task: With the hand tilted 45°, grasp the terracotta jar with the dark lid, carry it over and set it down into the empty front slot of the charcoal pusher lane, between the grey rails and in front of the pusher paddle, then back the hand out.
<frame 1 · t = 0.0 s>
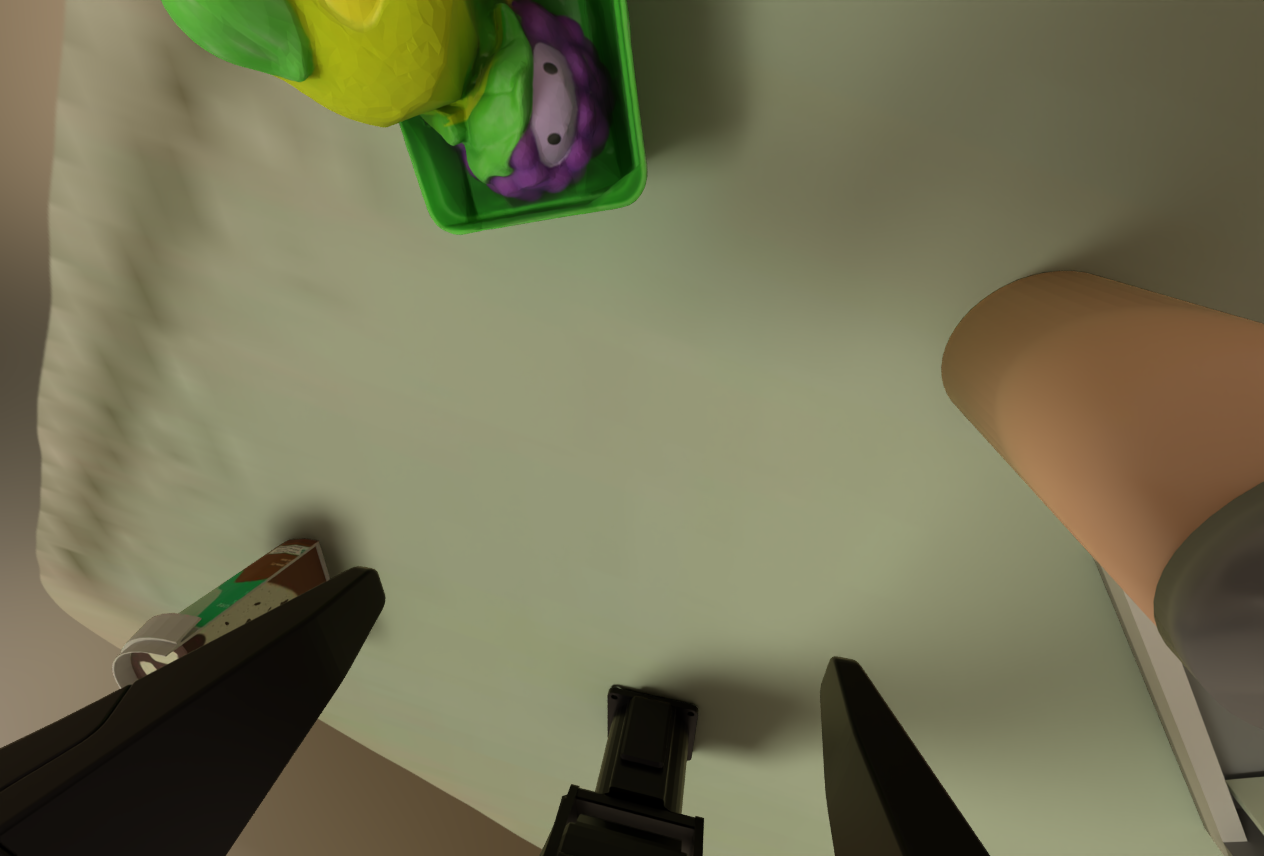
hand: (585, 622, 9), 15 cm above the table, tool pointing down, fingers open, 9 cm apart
food container: (299, 575, 36), on the table
jar: (1033, 355, 19), on the table
fruit basket: (538, 45, 17), on the table
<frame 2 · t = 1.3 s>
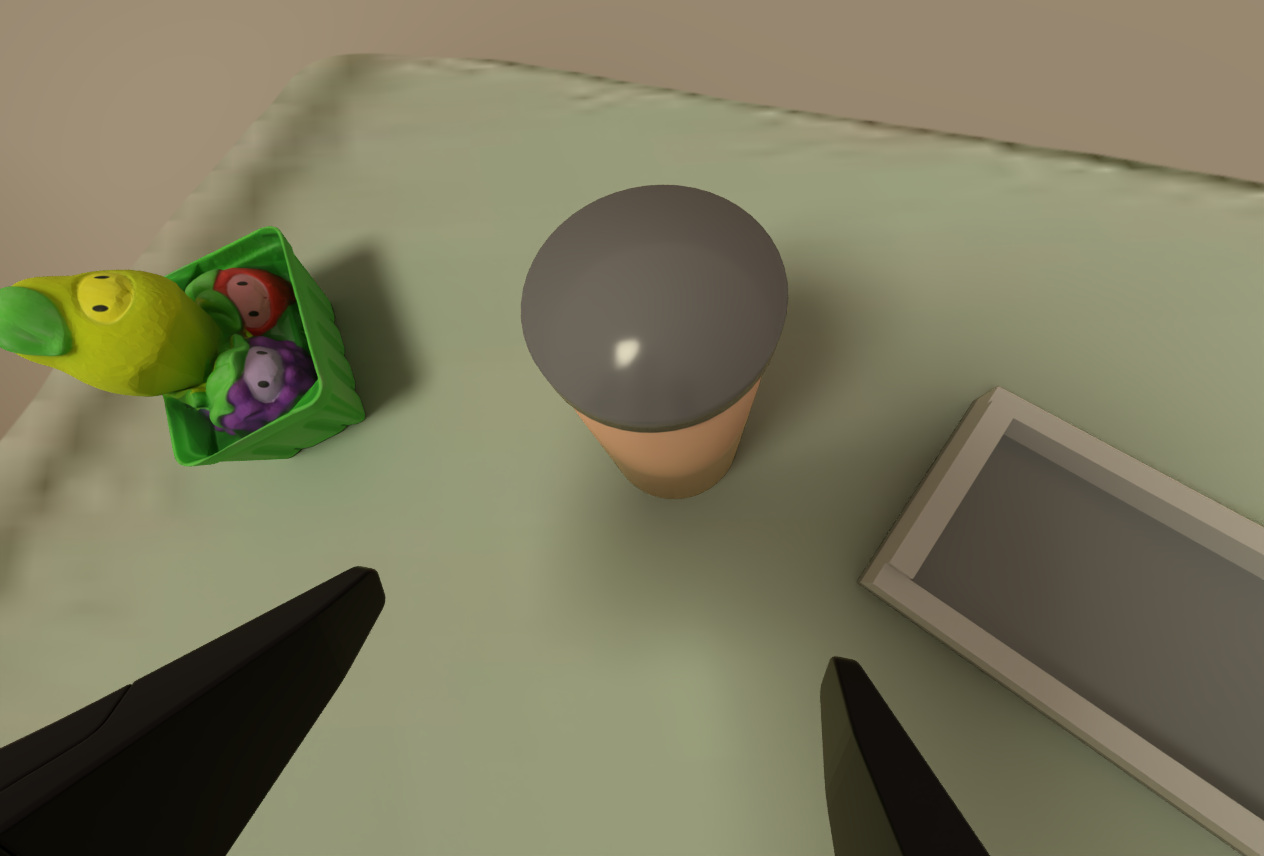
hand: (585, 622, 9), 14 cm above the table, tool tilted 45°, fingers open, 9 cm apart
lane: (1214, 674, 18), on the table
jar: (673, 436, 24), on the table
fruit basket: (303, 382, 28), on the table
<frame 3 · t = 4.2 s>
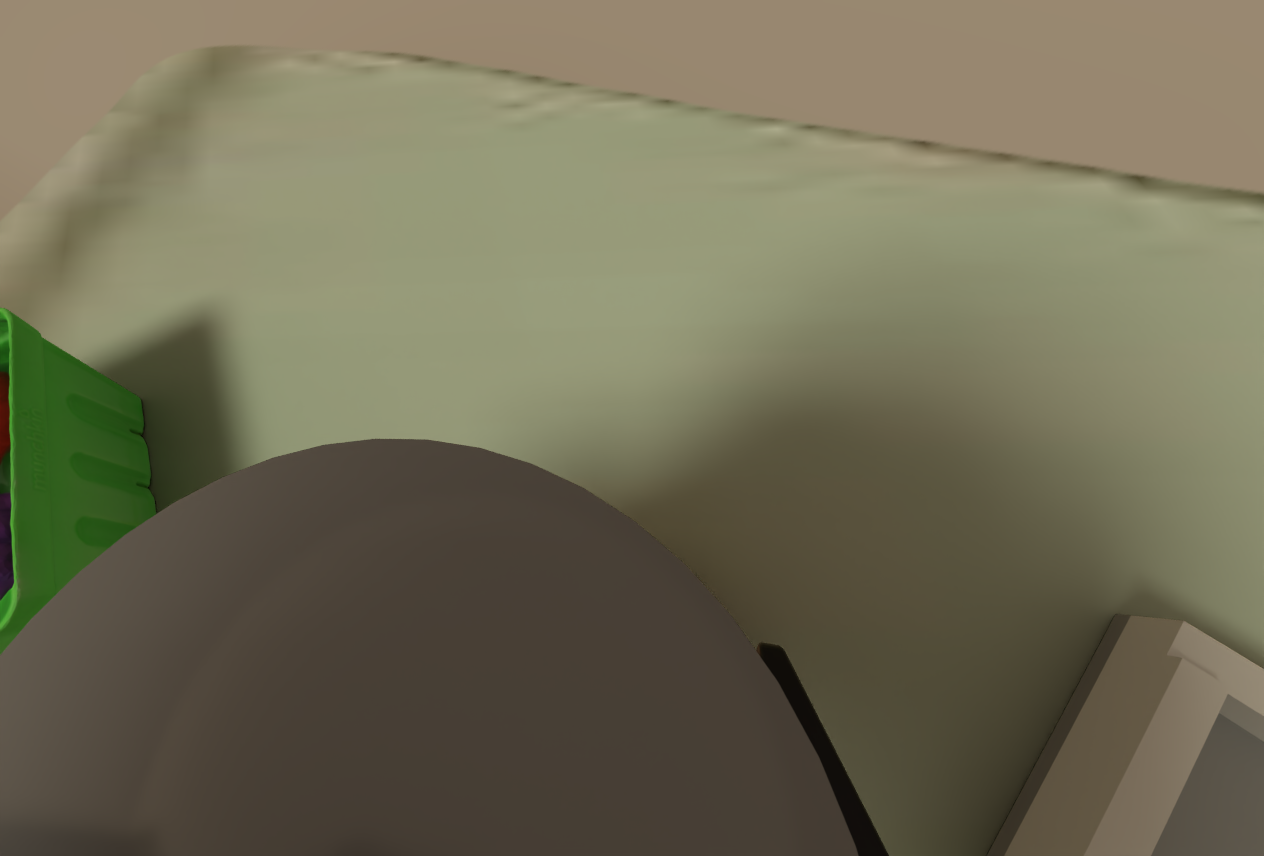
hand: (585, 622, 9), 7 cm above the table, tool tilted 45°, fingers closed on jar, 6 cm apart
jar: (623, 648, 15), on the table, touching gripper
fruit basket: (91, 523, 19), on the table
when the fingers open (9 cm above the table, at t = 8.8 s): jar drops 2 cm, resting on lane.
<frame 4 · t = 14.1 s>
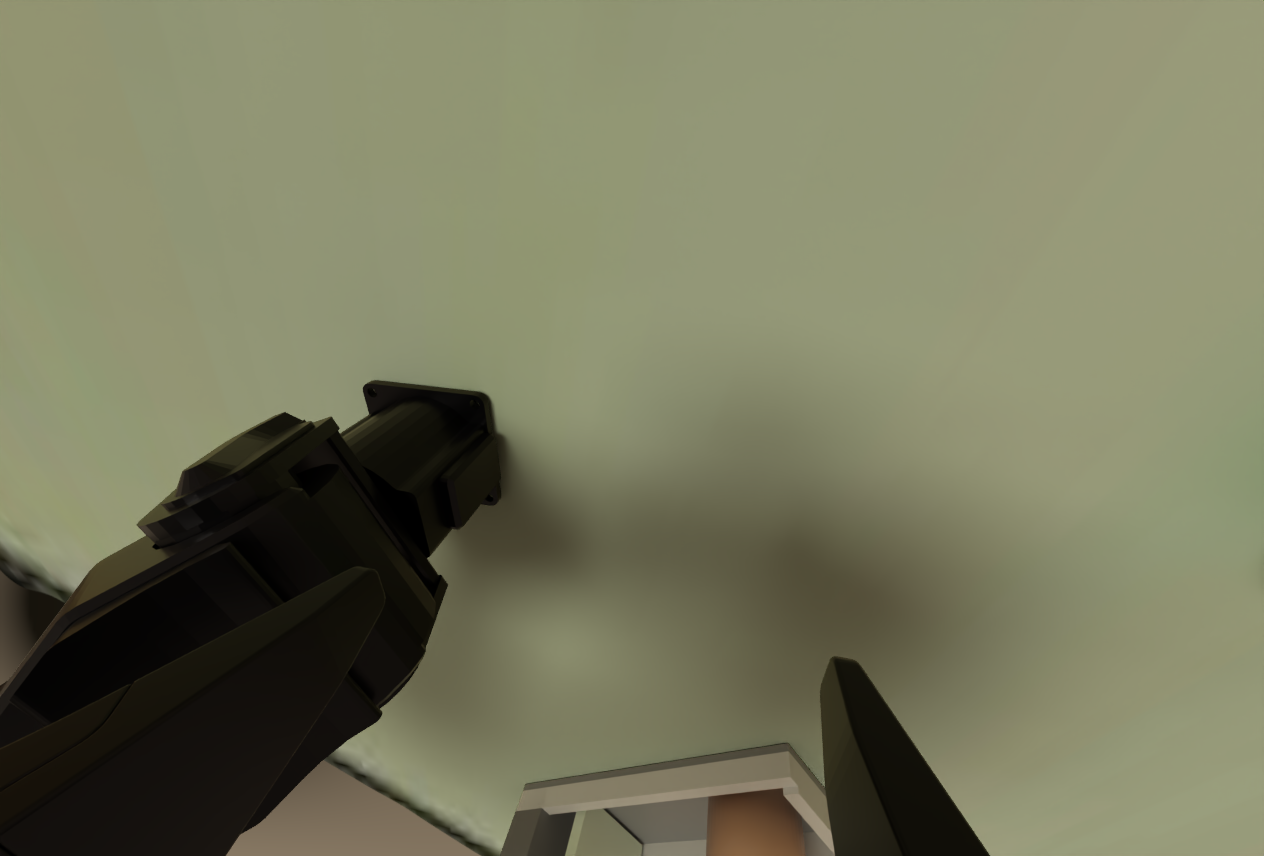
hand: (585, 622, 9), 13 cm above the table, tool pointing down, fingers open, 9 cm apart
lane: (673, 804, 37), on the table
jar: (753, 803, 34), point 1 cm above the table, touching lane
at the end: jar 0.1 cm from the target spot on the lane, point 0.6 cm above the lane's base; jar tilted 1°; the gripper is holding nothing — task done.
